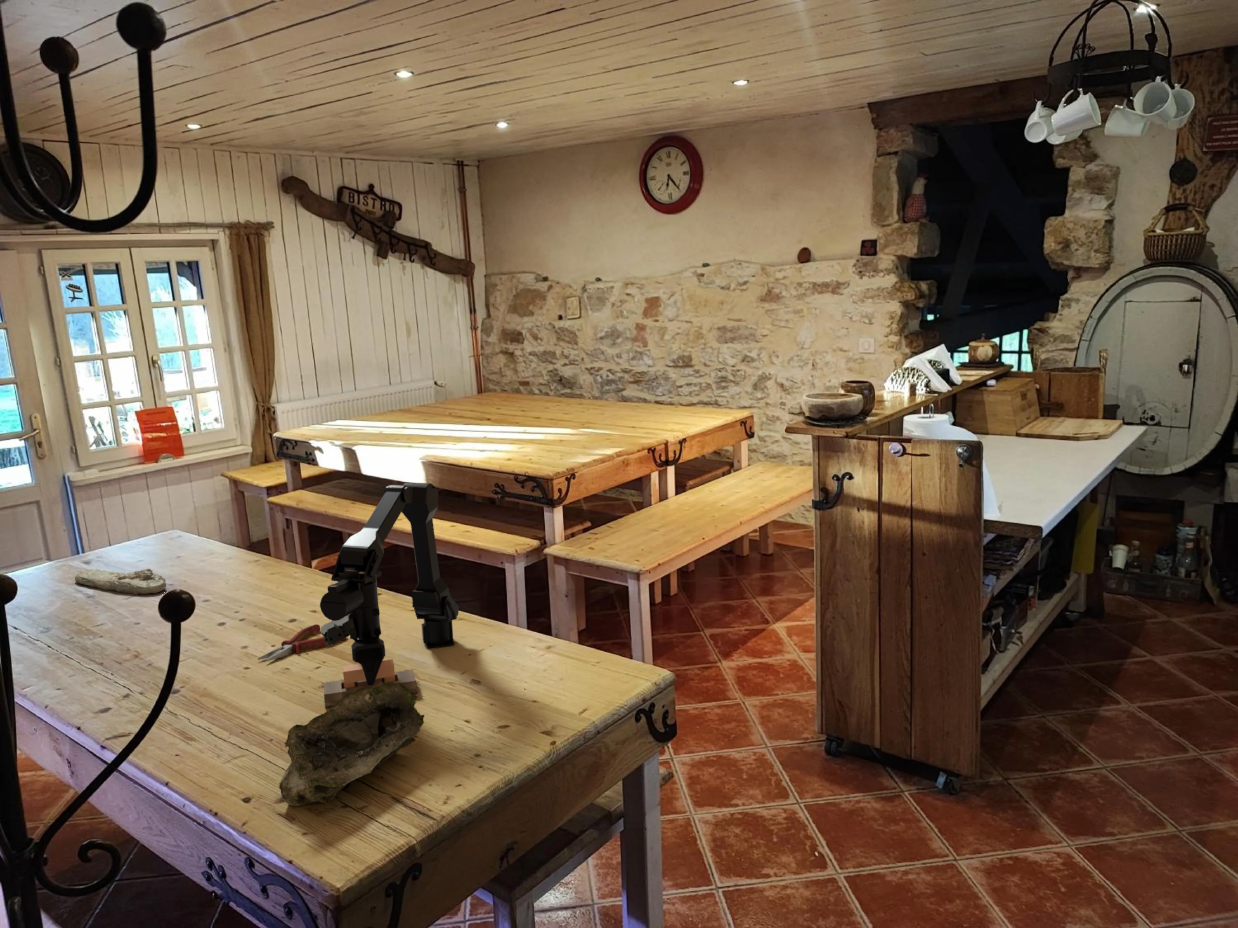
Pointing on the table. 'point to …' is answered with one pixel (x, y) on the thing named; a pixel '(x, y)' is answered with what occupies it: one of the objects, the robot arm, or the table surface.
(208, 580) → the table surface
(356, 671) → the clip
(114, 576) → the elongated rock
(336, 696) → the rail
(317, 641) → the pliers
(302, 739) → the hollow geode rock
